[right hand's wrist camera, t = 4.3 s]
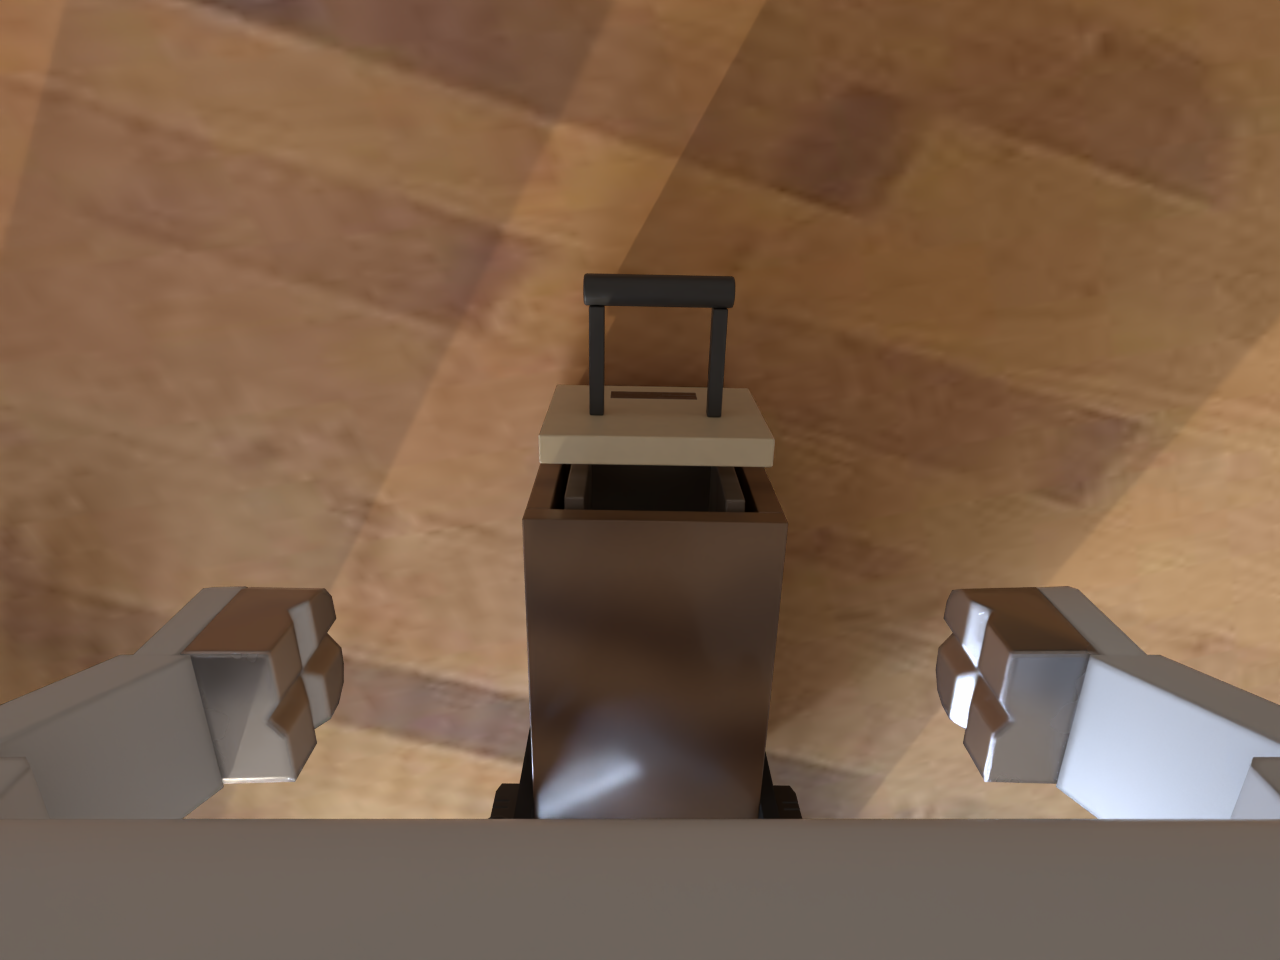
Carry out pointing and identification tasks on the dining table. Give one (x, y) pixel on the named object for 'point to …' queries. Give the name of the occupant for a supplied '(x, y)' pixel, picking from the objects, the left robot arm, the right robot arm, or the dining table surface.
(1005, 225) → the dining table surface
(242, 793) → the dining table surface
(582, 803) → the brown storage bin
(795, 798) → the left robot arm
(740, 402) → the drawer
